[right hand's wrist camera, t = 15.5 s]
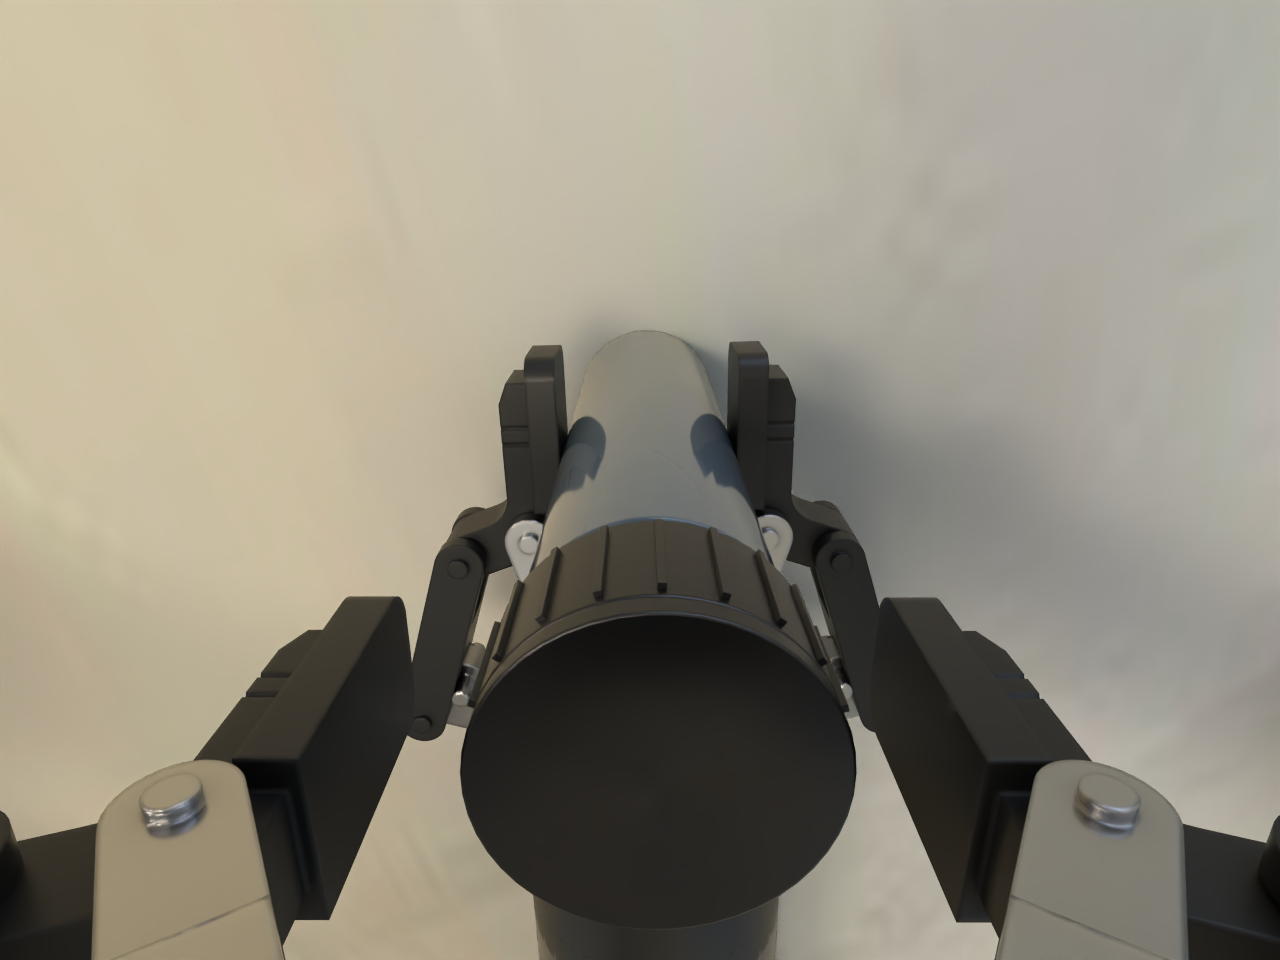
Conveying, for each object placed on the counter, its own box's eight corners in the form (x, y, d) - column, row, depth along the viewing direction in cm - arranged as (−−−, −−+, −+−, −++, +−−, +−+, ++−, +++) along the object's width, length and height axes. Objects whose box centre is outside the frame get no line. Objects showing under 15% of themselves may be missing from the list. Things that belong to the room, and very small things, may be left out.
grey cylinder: (564, 352, 25) (435, 647, 9) (689, 313, 25) (781, 551, 9) (605, 468, 27) (554, 901, 11) (723, 433, 26) (857, 829, 10)
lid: (585, 834, 12) (573, 979, 10) (429, 599, 11) (374, 708, 9) (863, 725, 12) (919, 857, 9) (738, 459, 10) (766, 538, 8)
